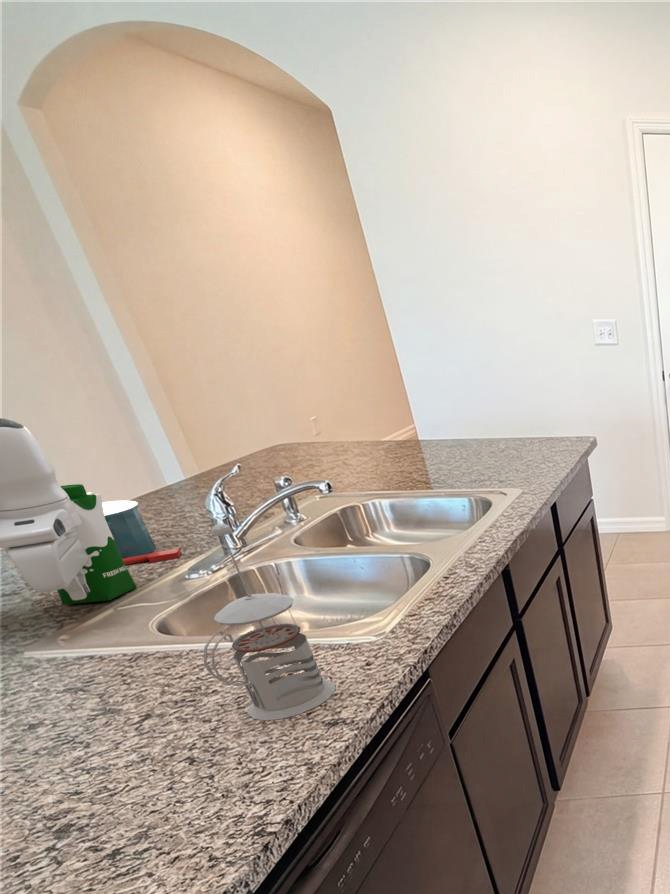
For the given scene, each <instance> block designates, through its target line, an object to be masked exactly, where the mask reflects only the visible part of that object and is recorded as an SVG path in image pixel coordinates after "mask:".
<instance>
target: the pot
mask: <svg viewBox="0 0 670 894" xmlns="http://www.w3.org/2000/svg"><path fill="white" fill-rule="evenodd" d="M105 520H106V522H107V524H108V527H109V529H110V531H111V534H112V536H113V538H114V541H115V543H116V545H117V547H118V550H119V552H120V554H121V557H122V559H123V558H129V557H135V556H141V555H146V554H150V553H153V552H155V550H156V544H155V543H154V540H153V538H152V536H151V535H150V534H151V533H150V531H149V529H148V528H147V526H146V522H145V521H144V519H143V517H142V514H141V512H140V511H139V509H138V508H136V509H134V510H132V511H129V512H126V513H123V514H120V515H116V516H112V517H108V518H105ZM152 551H153V552H152Z"/></svg>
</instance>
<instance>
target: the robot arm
mask: <svg viewBox="0 0 670 894" xmlns="http://www.w3.org/2000/svg"><path fill="white" fill-rule="evenodd" d="M60 486H61V485H60V484H59V483H58V481H57V477H56V469H55V468H54V466H53V464H52V463H51V460H50V459H49V457H48V455H47V454H46V452H45V450H44V449H43V447H42V446H41V444H40V443H39V441H38V440H37V438H36V437H35V436H34V434H33V433H32V432H31V431H30V430H29V429H28V428H27V427H26V426H25V425H24V424H22V423H20V422H17V421H15V420H11V419H7V418H1V417H0V549H7V553H8V556H9V558H10V560H11V562H12V563H13V565H14V566H15V568H16V569H17V571H18V572H19V573H20V575H21V576H22V578H23V580H24V581H25V582H26V583H27V585H28V586H29V587H30V588H31V589H32V590H34V591H35V592H37V593H39V594H41V593H47V592H53V591H57V590H59V589H65V590H66V591H67V592H68V594H69V595H70V597H71V599H72V600H81V599H85V598H86V597H87V595H88V594H89V592H90V589H89V587H88V585H87V584H86V579H85V574H84V571H83V569H82V567H83V566H84V565H85V564H86V562H87V561H88V560H89V557H88V555H87V553H86V551H85V549H84V547H83V545H82V544H81V542H80V540H79V539H76V537H75V536H76V535H77V533H76V531H75V530H74V528H75V527H77V526H79V525H81V524H82V521H81V519H80V517H79V515H78V513H77V511H76V509H75V507H74V505H73V504H72V502H71V500H70V498H69V496H68V494H67V493H66V492H65V491H64V490H63V489H62V488H61V487H60Z"/></svg>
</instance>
